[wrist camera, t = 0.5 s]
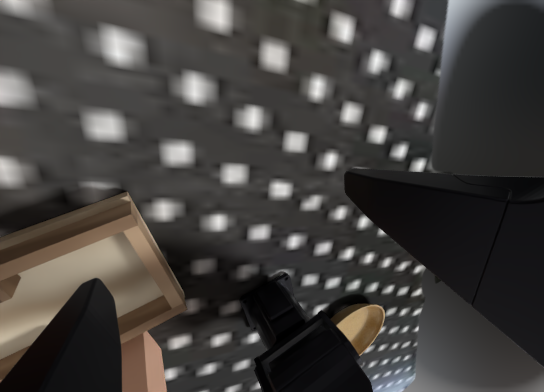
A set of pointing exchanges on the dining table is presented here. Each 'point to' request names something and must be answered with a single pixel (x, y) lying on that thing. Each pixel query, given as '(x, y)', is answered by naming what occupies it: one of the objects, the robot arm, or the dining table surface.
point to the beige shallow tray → (83, 273)
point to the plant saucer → (360, 324)
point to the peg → (142, 365)
